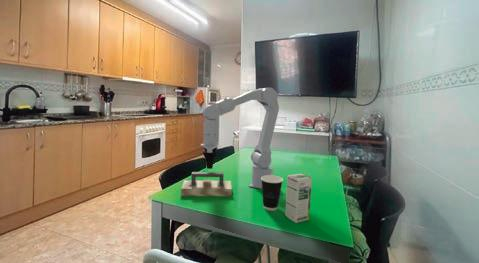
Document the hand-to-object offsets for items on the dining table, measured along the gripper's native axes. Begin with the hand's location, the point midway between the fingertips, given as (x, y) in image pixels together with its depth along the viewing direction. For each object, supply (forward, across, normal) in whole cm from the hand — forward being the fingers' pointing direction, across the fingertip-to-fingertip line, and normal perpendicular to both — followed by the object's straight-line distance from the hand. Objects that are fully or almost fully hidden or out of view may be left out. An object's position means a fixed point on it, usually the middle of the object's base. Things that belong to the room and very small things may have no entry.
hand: (209, 166), depth 104 cm
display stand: (+10, +2, -1) cm, 11 cm away
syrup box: (+11, +26, +30) cm, 41 cm away
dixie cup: (+11, +18, +23) cm, 31 cm away
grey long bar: (+7, +2, -1) cm, 7 cm away
